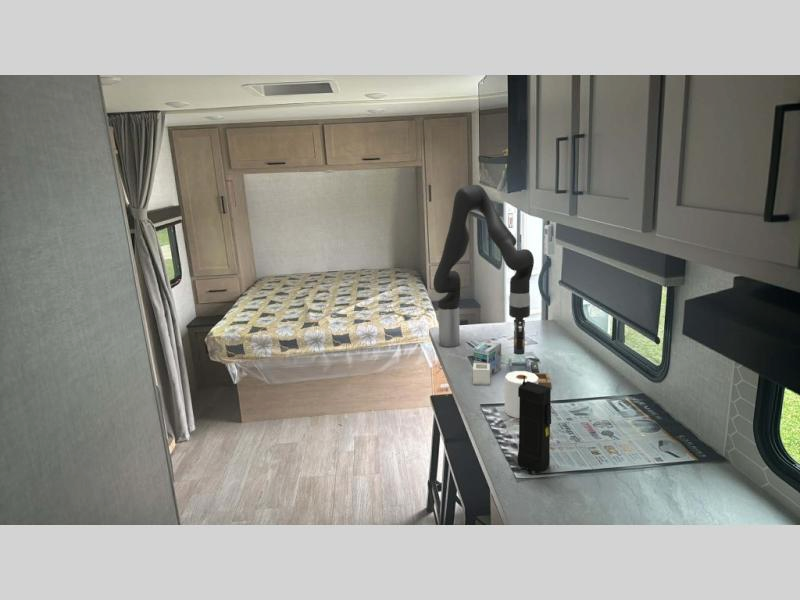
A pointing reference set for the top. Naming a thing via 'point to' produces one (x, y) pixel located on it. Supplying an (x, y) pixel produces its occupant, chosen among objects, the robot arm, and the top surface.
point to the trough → (543, 379)
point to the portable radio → (534, 426)
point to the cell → (515, 344)
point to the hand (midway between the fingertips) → (519, 347)
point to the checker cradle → (522, 366)
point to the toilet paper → (515, 390)
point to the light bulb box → (489, 355)
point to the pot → (481, 374)
